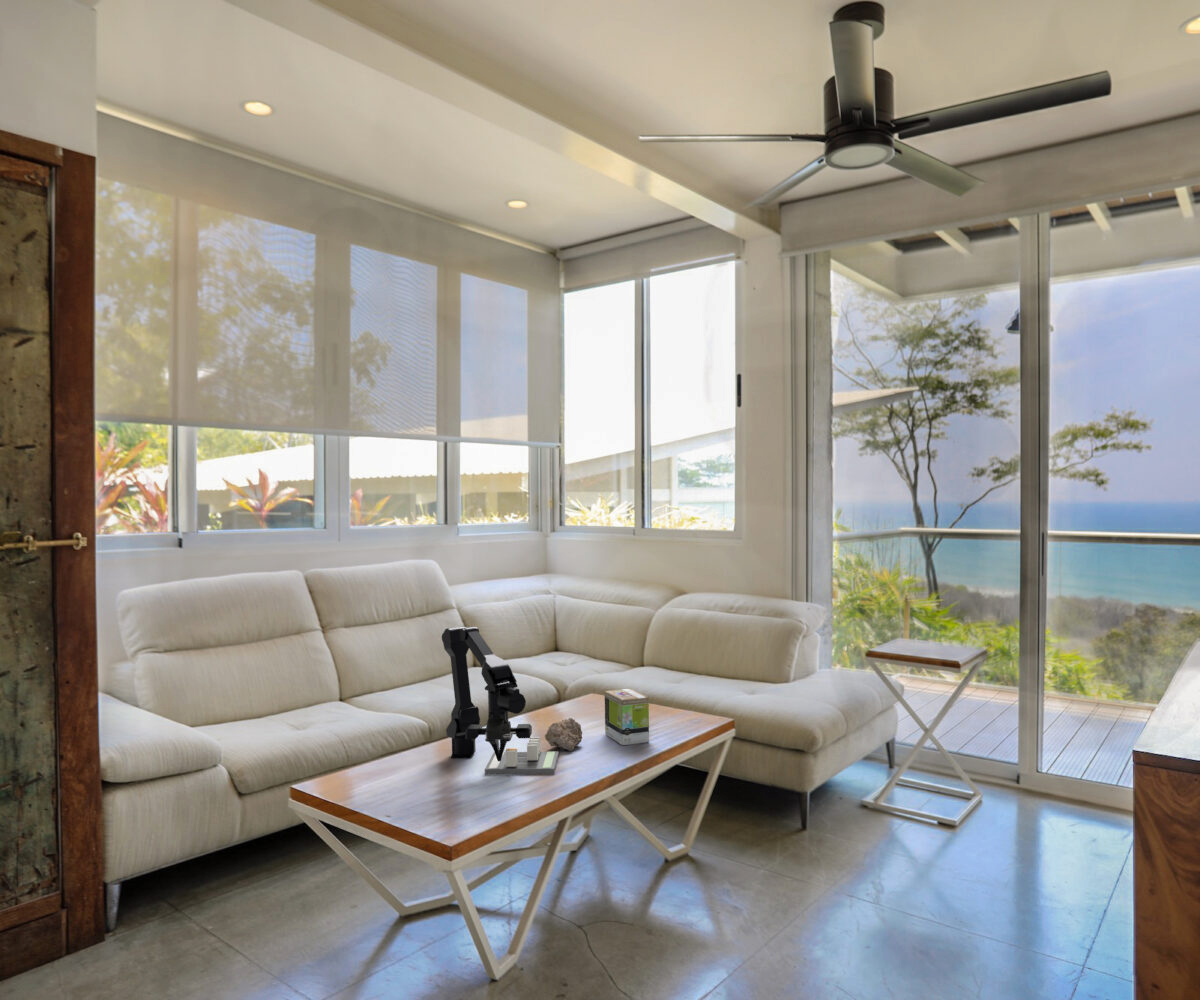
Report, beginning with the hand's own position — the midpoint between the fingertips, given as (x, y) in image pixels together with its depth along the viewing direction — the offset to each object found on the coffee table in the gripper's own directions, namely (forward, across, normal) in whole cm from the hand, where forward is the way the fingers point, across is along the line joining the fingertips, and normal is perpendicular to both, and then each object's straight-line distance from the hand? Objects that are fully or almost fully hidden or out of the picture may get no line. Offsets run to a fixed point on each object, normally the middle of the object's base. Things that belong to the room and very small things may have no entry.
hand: (499, 761), depth 238 cm
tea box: (+3, +37, +32) cm, 49 cm away
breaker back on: (+1, +9, +11) cm, 14 cm away
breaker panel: (+3, +6, +6) cm, 9 cm away
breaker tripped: (+1, +4, 0) cm, 4 cm away
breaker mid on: (+1, +9, +6) cm, 11 cm away
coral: (+3, +17, +23) cm, 29 cm away
